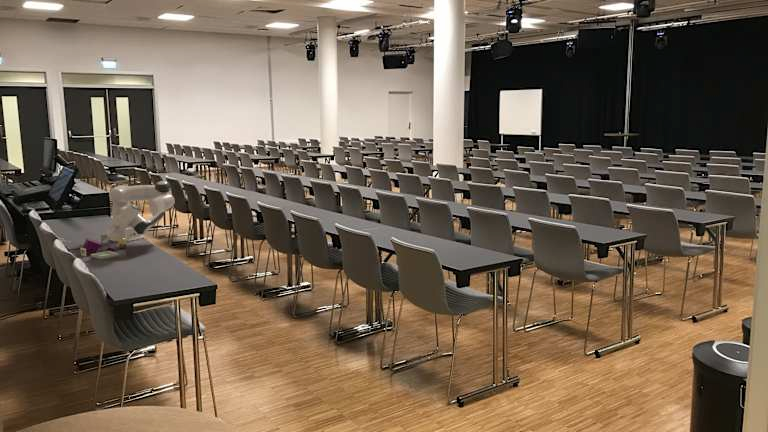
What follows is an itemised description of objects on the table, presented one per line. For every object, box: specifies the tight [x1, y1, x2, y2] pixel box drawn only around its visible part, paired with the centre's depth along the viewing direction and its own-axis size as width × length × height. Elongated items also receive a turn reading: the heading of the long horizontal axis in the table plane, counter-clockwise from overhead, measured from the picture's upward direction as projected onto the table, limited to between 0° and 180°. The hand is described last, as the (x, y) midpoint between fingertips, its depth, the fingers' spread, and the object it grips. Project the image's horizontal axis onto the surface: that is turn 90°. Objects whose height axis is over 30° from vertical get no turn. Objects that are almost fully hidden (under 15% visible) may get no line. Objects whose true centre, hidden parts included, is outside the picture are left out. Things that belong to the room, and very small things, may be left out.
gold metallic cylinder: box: [118, 238, 127, 250], centre depth 432 cm, size 5×5×7 cm
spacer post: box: [100, 233, 109, 250], centre depth 407 cm, size 4×4×9 cm
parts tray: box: [90, 250, 120, 261], centre depth 409 cm, size 12×12×2 cm
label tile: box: [80, 247, 88, 257], centre depth 410 cm, size 1×6×5 cm, turn 52°
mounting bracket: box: [83, 237, 116, 256], centre depth 421 cm, size 9×8×18 cm
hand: (103, 241), depth 407 cm, fingers closed on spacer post, 4 cm apart
